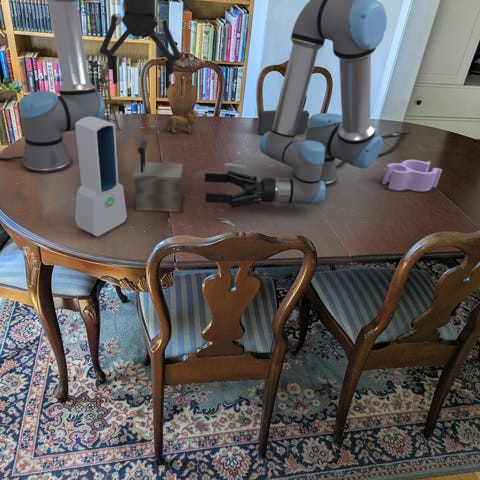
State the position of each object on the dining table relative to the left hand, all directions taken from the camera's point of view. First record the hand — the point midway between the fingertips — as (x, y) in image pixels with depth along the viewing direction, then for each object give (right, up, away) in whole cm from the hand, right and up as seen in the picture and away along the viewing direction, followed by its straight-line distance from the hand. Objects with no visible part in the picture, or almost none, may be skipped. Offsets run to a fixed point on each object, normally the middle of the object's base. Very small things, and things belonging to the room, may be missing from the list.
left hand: (141, 84), depth 124 cm
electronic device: (-12, -37, +6) cm, 40 cm away
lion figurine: (+2, +4, +73) cm, 73 cm away
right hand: (+16, -25, +17) cm, 34 cm away
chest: (+1, -30, +20) cm, 36 cm away
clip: (+89, -21, +49) cm, 103 cm away
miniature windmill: (-28, +3, +66) cm, 71 cm away
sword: (+95, +6, +91) cm, 131 cm away
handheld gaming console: (+45, +6, +83) cm, 94 cm away
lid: (+2, -21, +14) cm, 26 cm away
